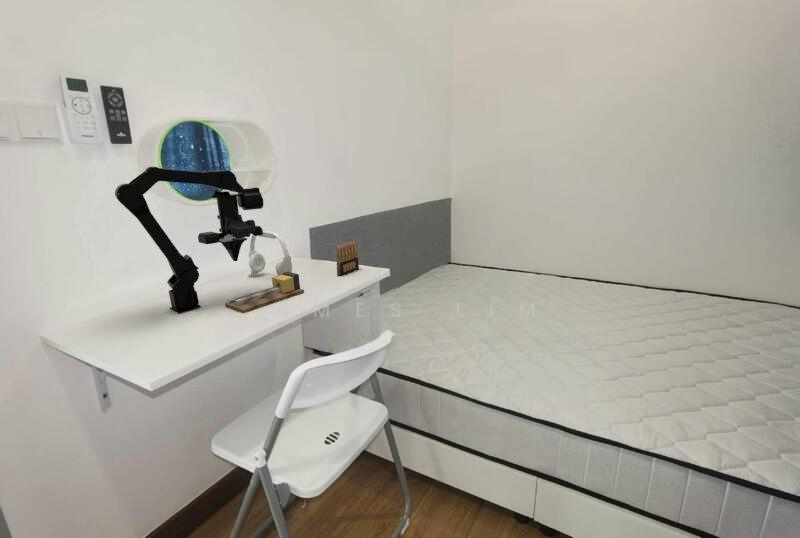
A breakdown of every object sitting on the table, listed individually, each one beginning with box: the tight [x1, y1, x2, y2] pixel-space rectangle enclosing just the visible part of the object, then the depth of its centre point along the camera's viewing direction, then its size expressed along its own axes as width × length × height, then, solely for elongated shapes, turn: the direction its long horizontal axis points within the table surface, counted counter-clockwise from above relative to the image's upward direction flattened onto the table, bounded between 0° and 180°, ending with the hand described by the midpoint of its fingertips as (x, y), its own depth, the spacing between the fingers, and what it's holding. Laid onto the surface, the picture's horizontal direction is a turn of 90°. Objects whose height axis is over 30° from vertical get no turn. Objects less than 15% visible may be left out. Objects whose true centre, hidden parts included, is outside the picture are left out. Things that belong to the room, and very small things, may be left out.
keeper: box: [271, 275, 295, 293], centre depth 135 cm, size 4×6×4 cm, turn 51°
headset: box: [247, 230, 293, 278], centre depth 152 cm, size 20×7×18 cm, turn 56°
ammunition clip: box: [336, 239, 360, 277], centre depth 156 cm, size 11×2×12 cm, turn 146°
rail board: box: [224, 272, 305, 314], centre depth 130 cm, size 22×10×6 cm, turn 141°
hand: (235, 260), depth 132 cm, fingers closed
